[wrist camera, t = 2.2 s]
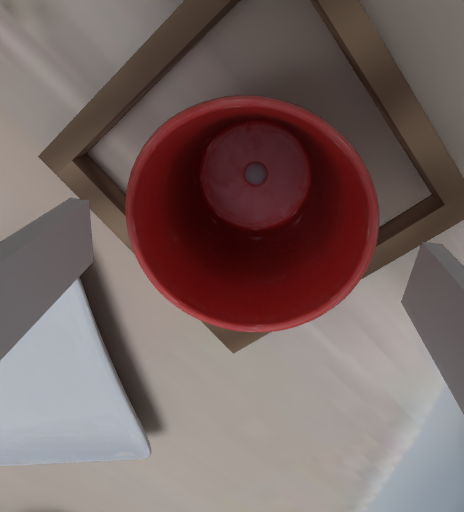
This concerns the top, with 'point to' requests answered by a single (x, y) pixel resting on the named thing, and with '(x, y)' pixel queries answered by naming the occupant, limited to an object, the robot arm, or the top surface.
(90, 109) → the holder frame
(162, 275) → the flower pot
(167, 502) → the top surface
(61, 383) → the salad plate
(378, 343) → the top surface
